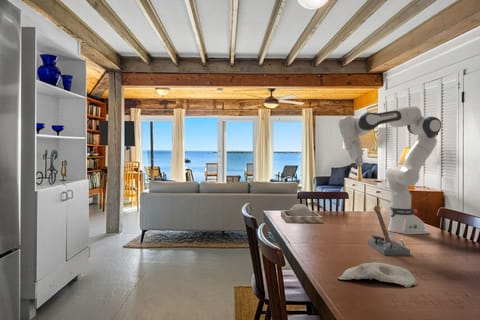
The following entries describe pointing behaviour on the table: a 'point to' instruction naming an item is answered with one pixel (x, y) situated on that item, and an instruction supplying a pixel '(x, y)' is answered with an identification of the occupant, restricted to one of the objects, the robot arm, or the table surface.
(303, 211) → the seashell
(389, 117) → the robot arm
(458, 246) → the table surface
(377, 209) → the lever
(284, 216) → the driftwood frame
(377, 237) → the block
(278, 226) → the table surface
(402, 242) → the stub toggle
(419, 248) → the table surface
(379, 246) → the panel
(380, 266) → the stone
